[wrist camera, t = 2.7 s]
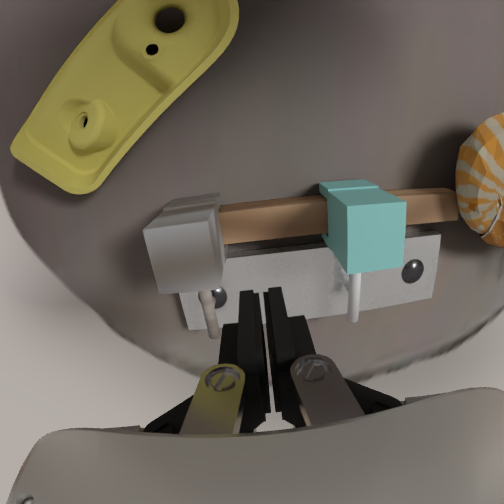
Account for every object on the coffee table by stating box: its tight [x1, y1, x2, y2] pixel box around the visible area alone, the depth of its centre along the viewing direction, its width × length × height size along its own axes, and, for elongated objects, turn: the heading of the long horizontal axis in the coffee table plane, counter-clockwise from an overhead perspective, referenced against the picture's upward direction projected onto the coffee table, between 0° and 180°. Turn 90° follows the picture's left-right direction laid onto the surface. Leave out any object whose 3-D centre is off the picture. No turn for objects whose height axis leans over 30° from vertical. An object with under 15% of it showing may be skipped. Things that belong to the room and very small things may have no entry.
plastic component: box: [10, 0, 239, 194], centre depth 18 cm, size 20×7×10 cm
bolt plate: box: [179, 230, 441, 330], centre depth 26 cm, size 7×25×1 cm, turn 97°
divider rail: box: [143, 188, 459, 339], centre depth 22 cm, size 11×25×8 cm, turn 97°
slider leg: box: [319, 180, 407, 323], centre depth 22 cm, size 11×4×8 cm, turn 7°
